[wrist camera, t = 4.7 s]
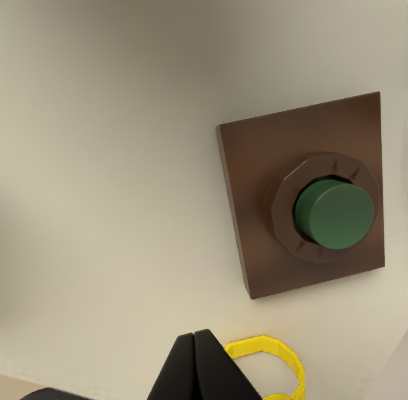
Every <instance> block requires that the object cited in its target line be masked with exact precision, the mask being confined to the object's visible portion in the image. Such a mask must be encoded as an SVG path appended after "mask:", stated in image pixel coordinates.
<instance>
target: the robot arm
mask: <svg viewBox="0 0 408 400" xmlns="http://www.w3.org/2000/svg"><path fill="white" fill-rule="evenodd" d="M147 400H263V399H262V397H261V396H260V395H259V393H258V392H257V391H256V390H255V388H254V387H253V386H252V384H251V383H250V382H249V380H248V379H247V378H246V377H245V375H244V374H243V373H242V371H241V370H240V369H239V367H238V366H237V365H236V364H235V362H234V361H233V360H232V358H231V357H230V356H229V354H228V353H227V352H226V350H225V349H224V348H223V347H222V345H221V344H220V343H219V341H218V340H217V339H216V337H215V336H214V335H213V334H212V332H211V331H210V330H209V329H204V330H200V331H196V332H195V333H194V334H193V333H188V334H184V335H180V336H178V337H177V339H176V341H175V343H174V345H173V347H172V349H171V351H170V353H169V355H168V357H167V359H166V361H165V363H164V365H163V368H162V370H161V372H160V374H159V376H158V378H157V380H156V382H155V384H154V386H153V388H152V390H151V392H150V394H149V396H148V398H147Z"/></svg>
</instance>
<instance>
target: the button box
mask: <svg viewBox="0 0 408 400" xmlns="http://www.w3.org/2000/svg"><path fill="white" fill-rule="evenodd" d="M216 133H217V139H218V144H219V150H220V155H221V160H222V166H223V171H224V176H225V182H226V187H227V192H228V198H229V203H230V209H231V214H232V219H233V225H234V230H235V235H236V241H237V246H238V251H239V257H240V262H241V267H242V273H243V278H244V284H245V287H246V290H247V292H248V294H249V296H250V298H251V299H257V298H261V297H265V296H269V295H273V294H277V293H281V292H285V291H289V290H293V289H297V288H301V287H305V286H309V285H313V284H317V283H321V282H325V281H329V280H333V279H337V278H341V277H345V276H349V275H353V274H357V273H361V272H366V271H370V270H374V269H378V268H382V267H385V254H384V217H383V180H382V143H381V106H380V92H379V91H378V92H373V93H368V94H363V95H359V96H354V97H349V98H344V99H340V100H335V101H330V102H325V103H321V104H316V105H311V106H306V107H302V108H297V109H292V110H287V111H283V112H278V113H273V114H268V115H264V116H259V117H254V118H249V119H245V120H240V121H235V122H230V123H226V124H221V125H218V126H216ZM329 179H330V180H336V181H340V182H344V183H348V184H352V185H356V186H358V187H360V188H362V189H363V190H364V191H365V192H366V193H367V194H368V195H369V196H370V198H371V200H372V203H373V208H374V216H373V221H372V224H371V226H370V228H369V230H368V232H367V233H366V234H365V236H364V237H363V238H362V239H361V240H360V241H358V242H357V243H355V244H354V245H352V246H349V247H347V248H343V249H330V248H326V247H324V246H322V245H320V244H319V243H317V242H316V241H315V240H313V239H312V238H310V237H309V236H308V235H306V234H305V233H304V232H303V231H302V230H301V229H300V228H299V226H298V224H297V221H296V217H295V208H296V204H297V201H298V199H299V197H300V195H301V194H302V193H303V191H304V190H305V189H306V188H307V187H309V186H310V185H312V184H313V183H315V182H318V181H321V180H329Z"/></svg>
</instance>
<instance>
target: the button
mask: <svg viewBox="0 0 408 400" xmlns="http://www.w3.org/2000/svg"><path fill="white" fill-rule="evenodd" d="M373 216H374V208H373V203H372V200H371V198H370V196H369V195H368V194H367V193H366V192H365V191H364V190H363V189H362V188H360V187H358V186H356V185H352V184H348V183H344V182H340V181H336V180H330V179H329V180H321V181H318V182H315V183H313V184H312V185H310V186H309V187H307V188H306V189H305V190H304V191H303V193H302V194H301V195H300V197H299V199H298V201H297V204H296V208H295V217H296V221H297V224H298V226H299V228H300V229H301V230H302V231H303V232H304V233H305V234H306V235H308V236H309V237H310V238H312V239H313V240H315V241H316V242H317V243H319V244H320V245H322V246H324V247H326V248H330V249H343V248H347V247H349V246H352V245H354V244H355V243H357V242H358V241H360V240H361V239H362V238H363V237H364V236H365V234H366V233H367V232H368V230H369V228H370V226H371V224H372V221H373Z"/></svg>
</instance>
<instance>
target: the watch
mask: <svg viewBox="0 0 408 400" xmlns="http://www.w3.org/2000/svg"><path fill="white" fill-rule="evenodd" d="M224 349H225V350H226V352H227V353H228V354H229V356H230V357H231V358H232V360H233V358H237V357H241V356H244V355H248V354H252V353H256V352H260V351H265V352H268V353H271V354H274V355H277V356H279V357H280V358H281V359H282V360H284V361H285V362H286V363H287V364H288V365H289V366H291V367H292V369H293V371H294V373H295V375H296V377H297V379H298V381H299V386H298V387H297V389H296V390H295V392H294V393H293V394H292V396H291V397H290V396H288V395H287V394H281V393H279V394H273V395H270V396H267V397H266V398H264V399H263V400H305V370H304V367H303V365H302V363H301V361H300V360H299V358H298V356H297V354H296V353H295V352H294V351H293V350H292V349H291V348H290V347H288V346H287V345H286V344H284V343H283V342H282V341H279V340H278V339H275V338H272V337H269V336H265V335H261V336H257V337H253V338H249V339H245V340H240V341H236V342H232V341H231V342H230V343H228V345H227V346H226V347H225V348H224Z"/></svg>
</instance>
